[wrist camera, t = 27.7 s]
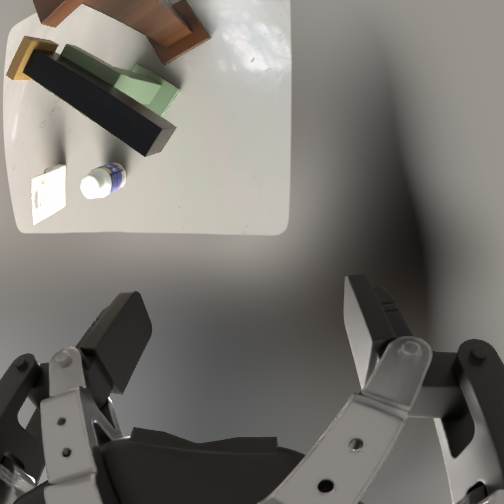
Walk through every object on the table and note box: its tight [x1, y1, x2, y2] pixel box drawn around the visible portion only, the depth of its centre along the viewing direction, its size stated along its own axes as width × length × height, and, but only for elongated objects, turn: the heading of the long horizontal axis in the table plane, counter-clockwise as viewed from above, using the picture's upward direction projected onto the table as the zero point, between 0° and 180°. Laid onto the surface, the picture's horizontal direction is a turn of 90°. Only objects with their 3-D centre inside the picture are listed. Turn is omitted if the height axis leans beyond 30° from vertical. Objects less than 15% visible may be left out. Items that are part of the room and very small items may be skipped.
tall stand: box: [33, 0, 211, 65], centre depth 23 cm, size 12×9×32 cm
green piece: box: [44, 44, 180, 122], centre depth 33 cm, size 10×6×21 cm, turn 53°
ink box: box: [31, 164, 66, 225], centre depth 46 cm, size 3×9×12 cm, turn 167°
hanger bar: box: [6, 36, 176, 157], centre depth 22 cm, size 22×5×5 cm, turn 53°
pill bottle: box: [81, 163, 126, 198], centre depth 46 cm, size 5×5×9 cm
